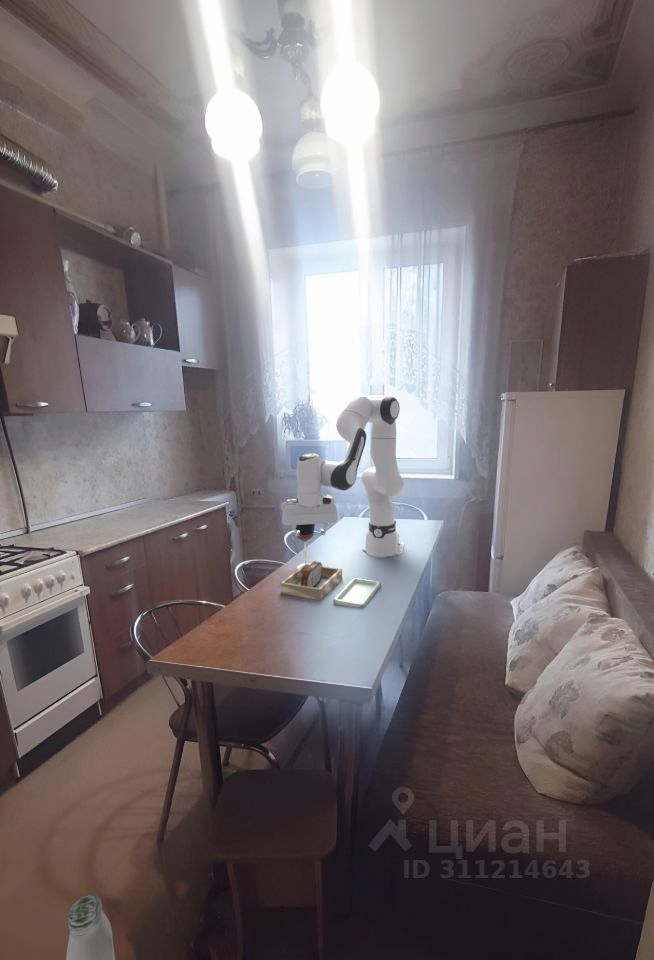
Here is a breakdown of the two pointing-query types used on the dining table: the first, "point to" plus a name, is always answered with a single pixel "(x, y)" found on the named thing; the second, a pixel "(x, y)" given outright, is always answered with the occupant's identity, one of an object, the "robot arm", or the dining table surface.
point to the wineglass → (305, 536)
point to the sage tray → (357, 593)
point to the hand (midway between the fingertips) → (310, 535)
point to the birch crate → (310, 592)
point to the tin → (312, 574)
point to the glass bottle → (89, 931)
